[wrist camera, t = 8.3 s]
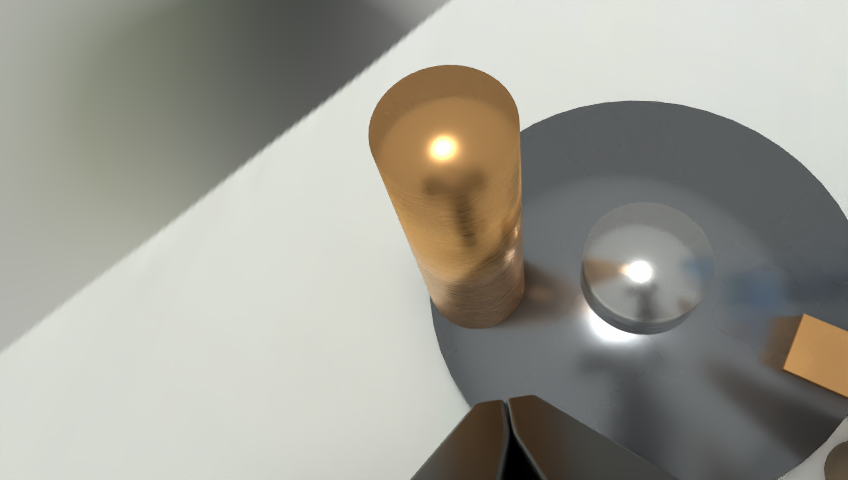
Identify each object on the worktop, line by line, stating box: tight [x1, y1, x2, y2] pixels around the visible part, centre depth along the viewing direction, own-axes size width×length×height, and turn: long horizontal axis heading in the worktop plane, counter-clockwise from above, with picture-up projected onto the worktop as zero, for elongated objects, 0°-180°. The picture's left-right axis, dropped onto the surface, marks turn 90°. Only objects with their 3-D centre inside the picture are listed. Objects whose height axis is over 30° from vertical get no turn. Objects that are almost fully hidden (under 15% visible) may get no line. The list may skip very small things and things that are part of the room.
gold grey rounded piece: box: [369, 65, 848, 480], centre depth 17 cm, size 15×13×10 cm
